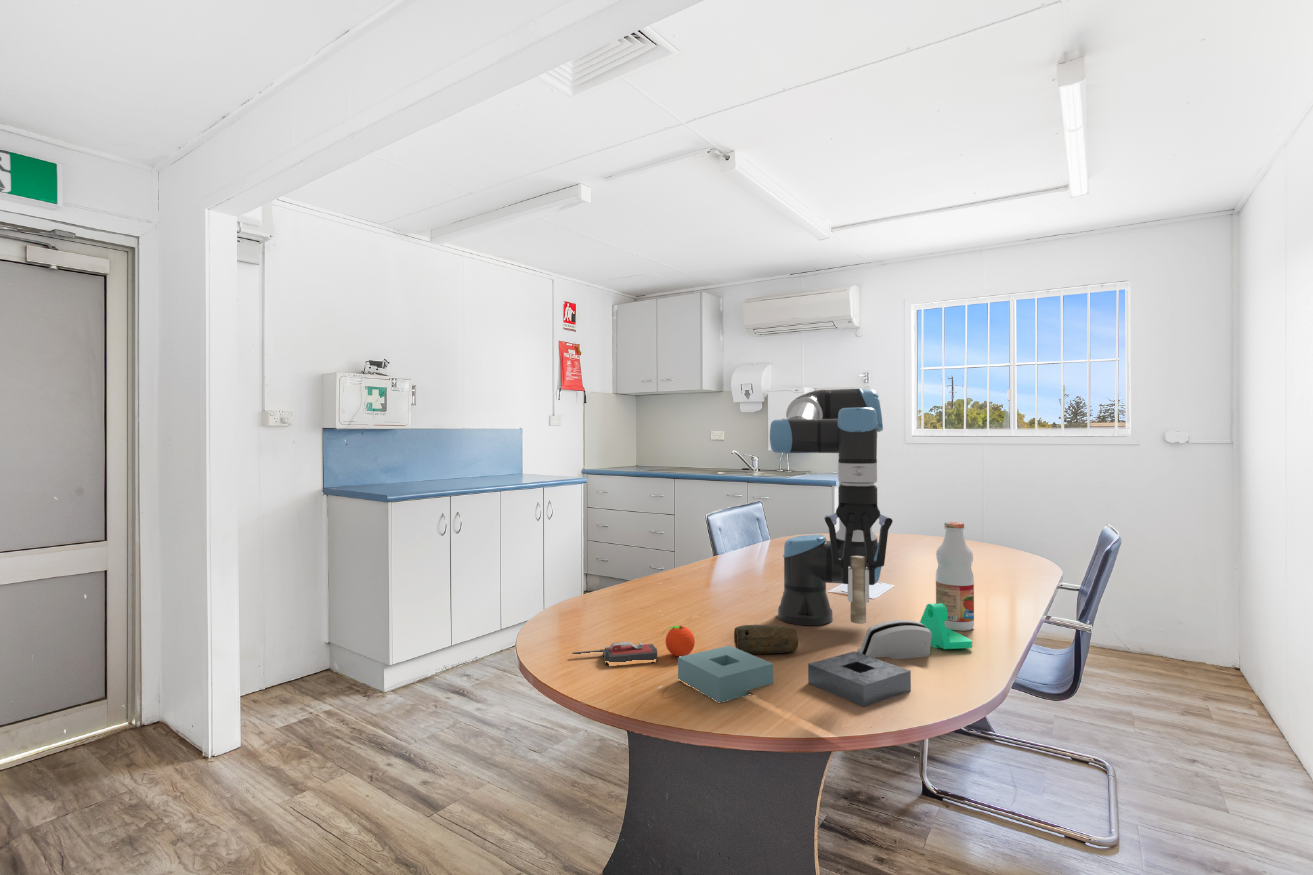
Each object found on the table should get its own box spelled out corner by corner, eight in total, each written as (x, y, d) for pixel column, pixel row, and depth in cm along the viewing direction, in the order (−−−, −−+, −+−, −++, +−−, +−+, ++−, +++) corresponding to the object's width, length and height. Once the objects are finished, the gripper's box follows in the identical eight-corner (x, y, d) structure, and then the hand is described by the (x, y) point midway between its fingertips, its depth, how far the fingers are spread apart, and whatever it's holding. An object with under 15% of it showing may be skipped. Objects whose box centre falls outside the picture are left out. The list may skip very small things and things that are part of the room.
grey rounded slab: (916, 649, 156) (925, 613, 153) (928, 661, 152) (937, 626, 149) (854, 655, 152) (862, 619, 149) (865, 668, 148) (873, 631, 145)
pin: (847, 620, 131) (847, 556, 131) (857, 618, 132) (857, 555, 132) (859, 624, 128) (859, 559, 128) (869, 622, 130) (869, 557, 130)
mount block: (808, 688, 132) (808, 663, 132) (854, 674, 140) (854, 651, 140) (863, 712, 120) (863, 685, 120) (910, 695, 128) (910, 670, 128)
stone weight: (739, 659, 150) (739, 630, 150) (731, 649, 157) (731, 622, 157) (801, 656, 152) (801, 627, 152) (790, 646, 159) (790, 619, 159)
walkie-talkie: (654, 651, 156) (571, 658, 152) (654, 633, 156) (571, 640, 152) (663, 664, 148) (575, 672, 143) (662, 645, 148) (575, 652, 143)
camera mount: (974, 652, 154) (973, 609, 154) (944, 653, 153) (944, 610, 153) (945, 636, 166) (945, 597, 166) (917, 638, 165) (917, 598, 165)
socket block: (678, 680, 136) (677, 657, 136) (729, 667, 144) (729, 645, 144) (719, 703, 125) (719, 677, 125) (773, 687, 132) (772, 663, 132)
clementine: (657, 658, 150) (657, 628, 150) (666, 649, 157) (666, 620, 157) (689, 662, 148) (689, 631, 148) (698, 653, 154) (698, 623, 154)
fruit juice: (935, 620, 181) (934, 520, 181) (972, 623, 178) (971, 521, 178) (936, 629, 172) (936, 524, 172) (975, 633, 169) (975, 526, 169)
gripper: (818, 485, 128) (819, 603, 128) (901, 485, 125) (901, 607, 125) (817, 482, 135) (818, 594, 136) (895, 483, 132) (896, 597, 132)
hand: (858, 600), depth 130 cm, fingers closed on pin, 2 cm apart
